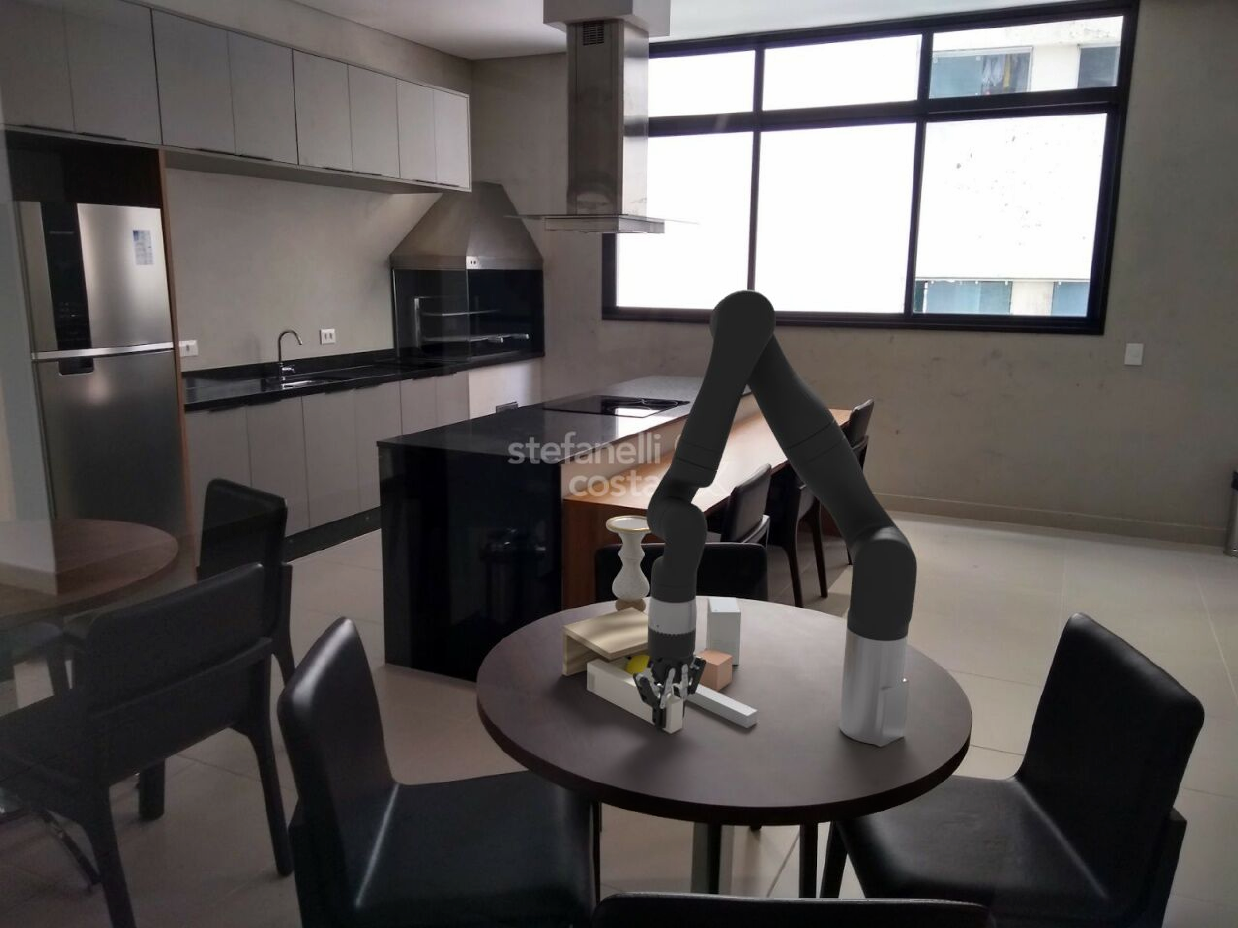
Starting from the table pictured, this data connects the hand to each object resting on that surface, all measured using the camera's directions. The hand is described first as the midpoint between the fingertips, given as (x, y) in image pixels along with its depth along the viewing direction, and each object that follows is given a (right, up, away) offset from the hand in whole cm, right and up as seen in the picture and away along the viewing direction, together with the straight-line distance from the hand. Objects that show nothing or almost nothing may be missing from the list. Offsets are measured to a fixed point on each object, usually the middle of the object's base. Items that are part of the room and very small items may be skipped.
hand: (668, 722), depth 141 cm
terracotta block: (+9, +3, +16) cm, 18 cm away
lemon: (-4, +2, +15) cm, 15 cm away
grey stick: (+9, 0, +6) cm, 11 cm away
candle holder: (-6, +7, +34) cm, 36 cm away
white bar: (-3, +1, +8) cm, 9 cm away
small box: (+12, +5, +26) cm, 29 cm away
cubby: (-7, +3, +17) cm, 19 cm away
